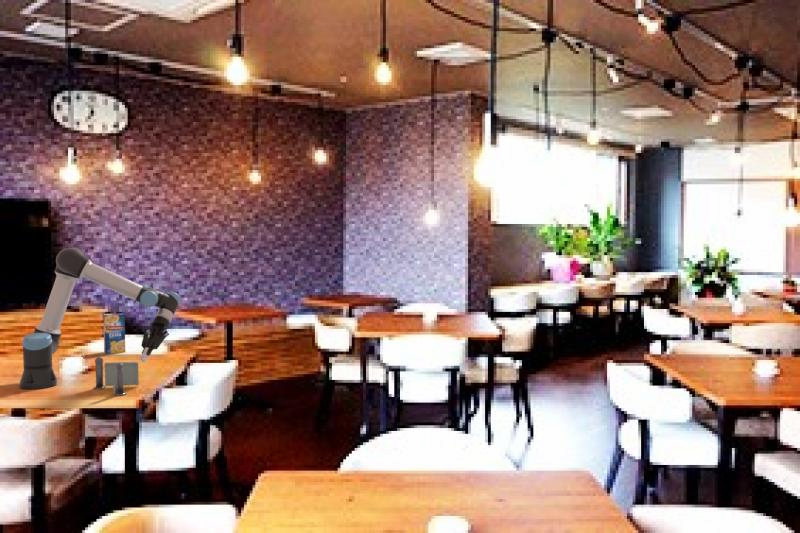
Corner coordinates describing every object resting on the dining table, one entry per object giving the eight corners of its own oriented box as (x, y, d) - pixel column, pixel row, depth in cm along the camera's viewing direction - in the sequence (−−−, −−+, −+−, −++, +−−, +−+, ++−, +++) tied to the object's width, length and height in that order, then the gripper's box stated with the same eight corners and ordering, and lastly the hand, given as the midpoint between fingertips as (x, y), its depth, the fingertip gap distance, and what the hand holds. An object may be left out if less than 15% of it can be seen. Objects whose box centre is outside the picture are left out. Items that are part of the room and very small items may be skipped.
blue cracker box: (103, 352, 411) (103, 314, 410) (124, 350, 416) (123, 313, 415) (105, 353, 405) (104, 315, 404) (125, 352, 410) (124, 314, 409)
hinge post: (91, 388, 316) (90, 357, 316) (102, 386, 320) (101, 355, 320) (96, 390, 313) (96, 358, 313) (107, 388, 317) (107, 357, 316)
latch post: (111, 394, 305) (110, 363, 304) (122, 392, 309) (121, 361, 308) (118, 396, 301) (117, 364, 301) (129, 394, 305) (128, 362, 304)
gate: (105, 386, 316) (104, 363, 316) (106, 385, 318) (105, 362, 317) (137, 385, 319) (137, 362, 318) (138, 384, 320) (138, 361, 320)
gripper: (177, 325, 344) (158, 365, 329) (154, 324, 348) (134, 364, 333) (171, 315, 339) (151, 356, 324) (147, 315, 342) (126, 355, 327)
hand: (142, 360), depth 328 cm, fingers closed
